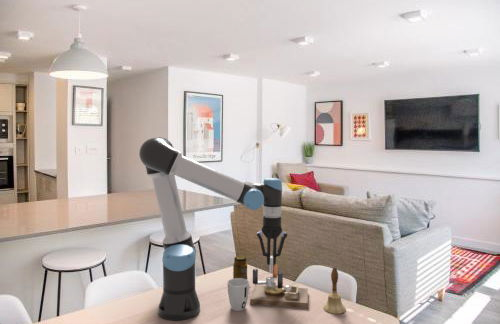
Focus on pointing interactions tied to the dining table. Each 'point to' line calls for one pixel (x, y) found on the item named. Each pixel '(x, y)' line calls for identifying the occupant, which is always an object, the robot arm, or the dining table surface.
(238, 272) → the condiment
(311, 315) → the dining table surface
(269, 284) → the capstan
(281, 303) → the stand
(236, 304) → the cup
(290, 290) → the ball
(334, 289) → the hand bell
